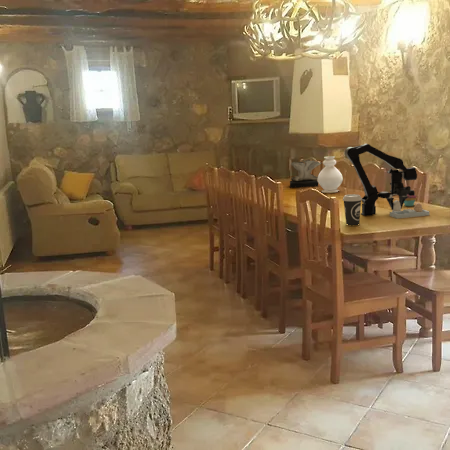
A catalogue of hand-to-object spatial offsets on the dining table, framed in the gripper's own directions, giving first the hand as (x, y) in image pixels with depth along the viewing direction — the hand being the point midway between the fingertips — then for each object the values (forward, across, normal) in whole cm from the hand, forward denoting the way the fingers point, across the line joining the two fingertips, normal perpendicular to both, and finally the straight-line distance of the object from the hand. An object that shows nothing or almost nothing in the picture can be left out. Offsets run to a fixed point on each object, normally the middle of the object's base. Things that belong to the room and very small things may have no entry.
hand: (396, 209), depth 293 cm
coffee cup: (+2, -33, -17) cm, 37 cm away
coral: (+2, -7, +131) cm, 131 cm away
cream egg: (+1, 0, 0) cm, 1 cm away
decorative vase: (+2, -1, +95) cm, 95 cm away
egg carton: (+2, +1, -12) cm, 12 cm away
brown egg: (+2, +6, -12) cm, 13 cm away
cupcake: (+2, +17, +17) cm, 24 cm away
